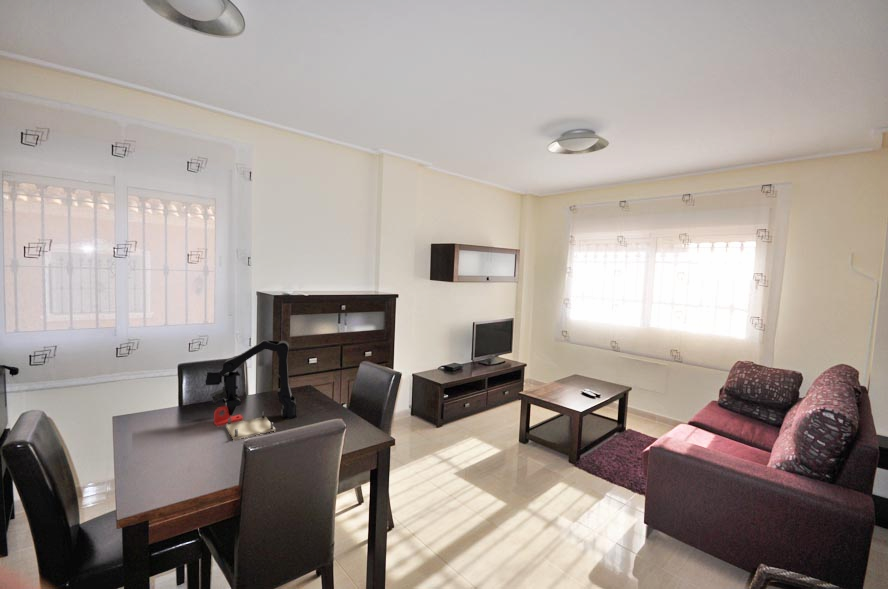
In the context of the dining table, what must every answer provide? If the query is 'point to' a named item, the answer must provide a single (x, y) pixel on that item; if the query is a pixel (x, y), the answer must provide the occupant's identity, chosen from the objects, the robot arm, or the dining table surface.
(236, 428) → the peg board
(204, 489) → the dining table surface
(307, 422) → the dining table surface
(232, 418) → the bracket
